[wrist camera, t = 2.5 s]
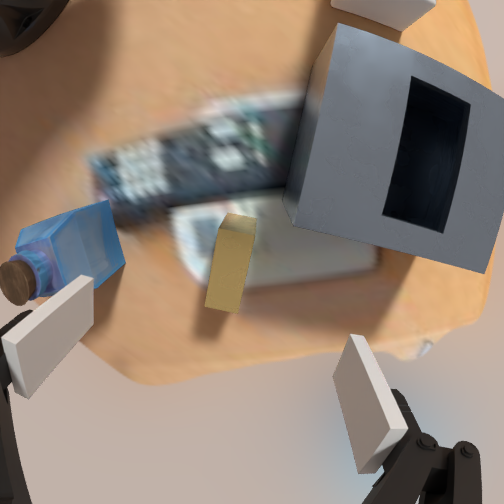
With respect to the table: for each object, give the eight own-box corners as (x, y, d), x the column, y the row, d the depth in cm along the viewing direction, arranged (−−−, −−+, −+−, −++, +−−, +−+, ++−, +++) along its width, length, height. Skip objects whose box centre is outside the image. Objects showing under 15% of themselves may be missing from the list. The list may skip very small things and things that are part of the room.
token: (215, 277, 29) (204, 306, 24) (227, 212, 28) (218, 227, 22) (242, 282, 29) (237, 313, 24) (256, 218, 28) (255, 235, 22)
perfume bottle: (58, 214, 28) (-25, 249, 16) (108, 199, 27) (27, 230, 16) (76, 272, 30) (4, 327, 18) (125, 262, 29) (59, 322, 18)
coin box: (282, 200, 27) (293, 225, 17) (312, 66, 24) (338, 22, 14) (424, 237, 27) (484, 274, 18) (452, 117, 24) (520, 110, 14)
